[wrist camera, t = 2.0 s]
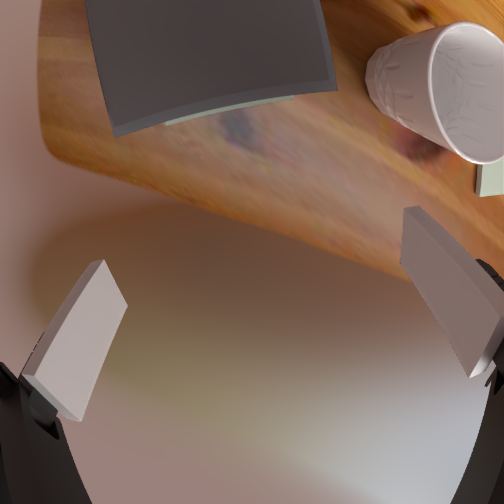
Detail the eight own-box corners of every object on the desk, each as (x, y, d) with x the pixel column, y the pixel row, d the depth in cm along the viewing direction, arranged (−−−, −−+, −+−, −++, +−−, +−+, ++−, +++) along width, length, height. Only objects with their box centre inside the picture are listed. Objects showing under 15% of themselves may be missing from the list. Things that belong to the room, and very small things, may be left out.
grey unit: (158, -4, 14) (72, -66, 4) (265, -28, 14) (279, -123, 3) (185, 117, 20) (112, 157, 9) (293, 96, 19) (345, 108, 8)
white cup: (454, 97, 18) (538, 120, 9) (396, 147, 21) (470, 192, 12) (403, 21, 15) (483, 2, 6) (336, 70, 18) (397, 63, 9)
